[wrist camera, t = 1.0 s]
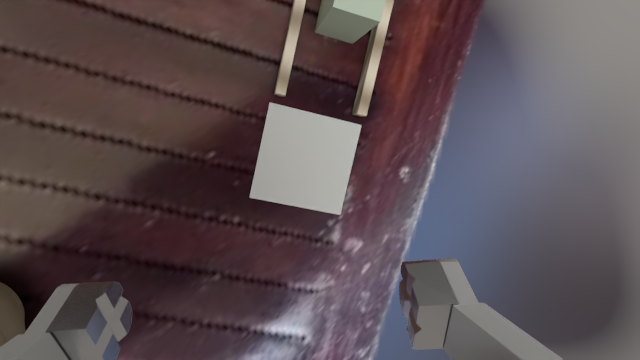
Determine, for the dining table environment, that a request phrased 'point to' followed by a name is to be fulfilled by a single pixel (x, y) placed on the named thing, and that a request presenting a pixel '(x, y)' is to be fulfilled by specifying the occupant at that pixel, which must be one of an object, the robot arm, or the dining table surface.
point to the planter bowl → (10, 315)
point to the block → (348, 18)
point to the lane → (368, 67)
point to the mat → (304, 159)
